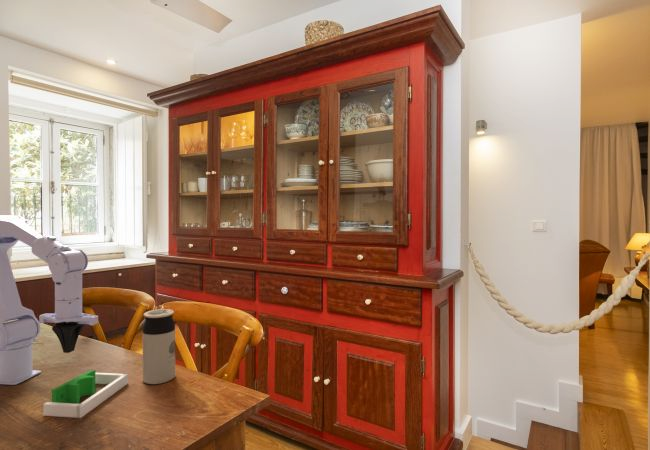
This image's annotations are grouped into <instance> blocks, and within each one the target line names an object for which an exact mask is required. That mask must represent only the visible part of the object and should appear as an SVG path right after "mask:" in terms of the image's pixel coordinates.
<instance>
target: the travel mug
mask: <svg viewBox="0 0 650 450" xmlns="http://www.w3.org/2000/svg"><path fill="white" fill-rule="evenodd" d="M174 314H175V311H174V310H173V309H170V308H169V309H167V308H162V309H161V308H159V309H158V308H157V309H152V310H149V311H146V312H144V313H143V317H144V320H145V321H144V323H143V324H142V381H143V383H144V384H148V385H160V384H163V383H168V382H169V381H171V380H172V379H174V378H175V377H176V322H175V320H174V319H173V315H174Z"/></svg>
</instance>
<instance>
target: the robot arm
mask: <svg viewBox="0 0 650 450" xmlns="http://www.w3.org/2000/svg"><path fill="white" fill-rule="evenodd" d="M18 241H20V242H21V243H23V244H24V245H26V246H29V247H31V253H32V254H33V255H34V256H35V257H37V258H39V259H40V260H41V261H43V262H45V263H46V264H47V266H48V270H49V271H50V272H51V279H52V281H53V282H54V313H43V314H40V315H38V316H39V317H38V318H37V317H36V315H35V313H34V311H33V310H32V309H30V308H27V307H25V306H23V305H22V301H21V297H20V294H19V291H18V286H17V283H16V280H15V276H14V273H13V270H12V266H11V262H10V257H9V255H8V251H9V249H11V248H13V247H14V246H16V244H17V243H18ZM88 264H89V259H88V256H87V254H86V252H84V251H83V249H80V248H79V249H72V248H70V246H69V245H67V244H64V243H62V242H61V241H59V240H57V237H55V236H54V235H46V236H43V235H42V234H40V233H39V232H38V231H36V230H35V229H34V228H32V227H31V226H30V225H29V224H28V219H26V218H24V217H23V216H21V215H20V214H14V215H0V385H9V386H15V385H18V384H20V383H22V382H25V381H26V380H28V379H31V378H32V377H34V376H38V375H39V374H41V373H42V370H38V369H37V370H36V369H34V370H33V368H34V367H33V343H35V342H36V338H38V337H39V335H40V333H41V324H44V323H52V324H53V323H55V325H53V326H52V327H51V330H52V332H54V334H55V335H56V337H57V339H58V341H59V344H60V346H61V348H62V353H63V354H70V353H71V352H73V351H75V349H76V345H77V342H78V341H77V340H78V339H79V335H80V333H82V330H83V328H84V327H85V326H86V325H89V326H94V325H97V324H99V315H94V314H88V313H83V271H85V270H86V269H87V267H88ZM38 319H39V320H38Z"/></svg>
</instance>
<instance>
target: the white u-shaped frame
mask: <svg viewBox="0 0 650 450" xmlns="http://www.w3.org/2000/svg"><path fill="white" fill-rule="evenodd" d="M128 383H129V374H128V373H115V372H114V373H113V372H112V373H111V372H96V371H95V385H105V386H104V387H103V388H101V389H100V390H98V391H97V392H95V394H93V395H90V397H88V398H87V399H85V400H84V401H82V402H81V403H78V404H74V403H55V402H52V401H47V402H45V403H44V404H43V407H42V408H43V409H42V411H43V413H42V415H43V417H46V416H47V417H60V418H61V417H62V418H63V417H64V418H76V419H77V418H78V419H82V418H83V417H85V416H86V415H87V414H88V413H90V412H91V411H93V410H94V409H95V408H96V407H99V405H101V404H102V403H103V402H105V401H106V400H107V399H108V398H111V396H113V395H114V394H115V393H117V392H119V391H120V390H121V389H123V388H124V387H125V386H126V385H128Z"/></svg>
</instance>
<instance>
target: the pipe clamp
mask: <svg viewBox="0 0 650 450" xmlns="http://www.w3.org/2000/svg"><path fill="white" fill-rule="evenodd" d="M95 373H96V370H94V369H91V370H89V371H86V372H84V373H83V374H80V375H78V376H77V377H74V378H73V379H71V380H69V381H66V382H65V383H63V384H60V385H58V386H57V387H55V388H52V389H51V402H55V403H73V404H80V402H81V401H80V398H83V397H85V396H92V395H94V394H95V393H96V384H95Z"/></svg>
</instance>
